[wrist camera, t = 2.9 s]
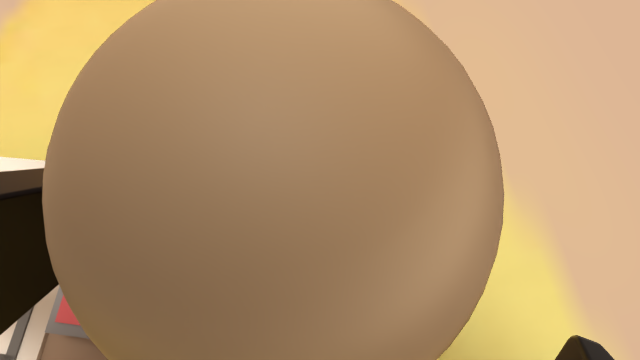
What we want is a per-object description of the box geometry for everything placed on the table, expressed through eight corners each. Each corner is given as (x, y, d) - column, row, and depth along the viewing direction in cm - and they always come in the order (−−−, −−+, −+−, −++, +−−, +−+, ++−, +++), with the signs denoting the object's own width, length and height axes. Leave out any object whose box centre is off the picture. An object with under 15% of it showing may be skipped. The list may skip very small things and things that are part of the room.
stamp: (401, 380, 15) (794, 760, 1) (270, 362, 15) (-387, 493, 2) (408, 248, 16) (621, -198, 3) (289, 236, 17) (5, -181, 3)
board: (412, 520, 14) (422, 553, 12) (-175, 412, 17) (-255, 423, 15) (426, 203, 18) (434, 183, 16) (-58, 160, 21) (-108, 138, 19)
